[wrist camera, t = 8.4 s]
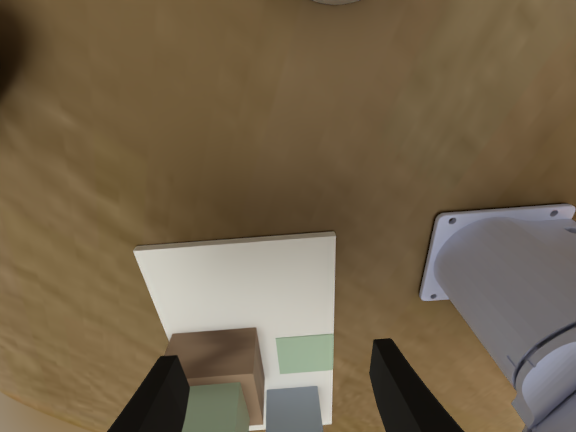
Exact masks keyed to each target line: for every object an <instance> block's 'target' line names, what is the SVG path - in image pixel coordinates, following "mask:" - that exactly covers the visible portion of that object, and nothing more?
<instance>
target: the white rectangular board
mask: <svg viewBox="0 0 576 432" xmlns="http://www.w3.org/2000/svg"><path fill="white" fill-rule="evenodd" d="M335 251H336V235H335V232H334V231H332V232H319V233H305V234H292V235H278V236H265V237H252V238H238V239H225V240H211V241H198V242H185V243H171V244H158V245H144V246H136V248H135V249H134V251H133V252H134V255H135V257H136V260H137V262H138V265H139V267H140V270H141V272H142V275H143V277H144V280H145V282H146V285H147V287H148V290H149V292H150V295H151V297H152V300H153V302H154V305H155V307H156V310H157V312H158V315H159V317H160V320H161V322H162V325H163V327H164V330H165V332H166V335H167V337H168V340H169V341H170V339H171V336H172V334H175V333H188V332H201V331H214V330H227V329H240V328H253V327H256V329H257V335H258V341H259V347H260V352H261V358H262V364H263V370H264V376H265V386H264V418H263V425H253V426H249V431H250V430H263V429H266V400H267V390H270V389H282V388H295V387H308V386H317V387H318V395H319V403H320V410H321V418H322V425H327V424H332V382H333V348H334V294H335Z"/></svg>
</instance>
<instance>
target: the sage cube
mask: <svg viewBox="0 0 576 432" xmlns="http://www.w3.org/2000/svg"><path fill="white" fill-rule="evenodd" d="M249 422H250V418H249V414H248V410H247V406H246V402H245V399H244V395H243V391H242V387H241V383H240V382H235V383H223V384H212V385H200V386H190V392H189V398H188V405H187V410H186V416H185V421H184V425H183V429H182V432H249Z"/></svg>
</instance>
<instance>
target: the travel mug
mask: <svg viewBox="0 0 576 432" xmlns="http://www.w3.org/2000/svg"><path fill="white" fill-rule="evenodd" d="M312 1H315V2H319V3H323V4H332V5H339V4H348V3H353V2H356V1H359V0H312Z"/></svg>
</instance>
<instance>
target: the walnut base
mask: <svg viewBox="0 0 576 432" xmlns="http://www.w3.org/2000/svg"><path fill="white" fill-rule="evenodd" d="M171 355H178V358H179V361H180V363H181V366H182V368H183V371H184V373H185V376H186V378H187V381H188V383H189V386H200V385H212V384H223V383H235V382H240V383H241V387H242V391H243V395H244V399H245V402H246V406H247V410H248V414H249V418H250V422H249V426H253V425H263V418H264V386H265V376H264V370H263V364H262V358H261V352H260V347H259V341H258V335H257V329H256V327H253V328H240V329H227V330H214V331H201V332H188V333H175V334H172V336H171V339H170V341H169V344H168V347H167V349H166V352H165V355H164V356H171Z"/></svg>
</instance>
